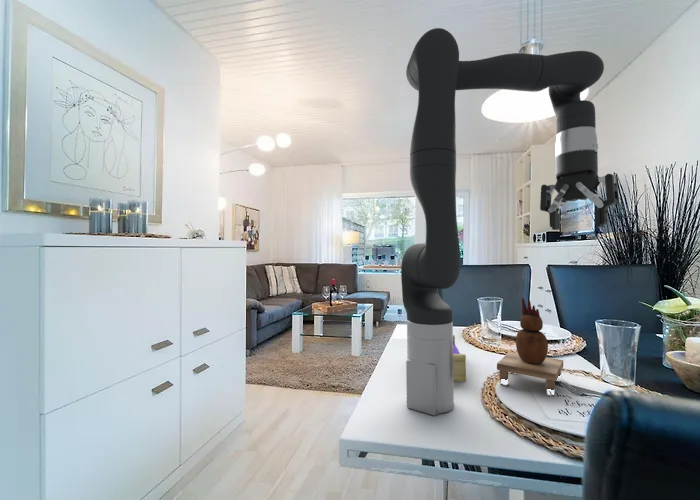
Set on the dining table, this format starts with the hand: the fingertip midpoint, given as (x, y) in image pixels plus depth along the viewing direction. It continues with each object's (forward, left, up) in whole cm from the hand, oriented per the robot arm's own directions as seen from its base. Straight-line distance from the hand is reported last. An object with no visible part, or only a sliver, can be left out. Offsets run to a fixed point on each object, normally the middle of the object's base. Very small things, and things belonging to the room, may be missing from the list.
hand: (577, 228), depth 73 cm
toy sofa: (+1, +31, -37) cm, 48 cm away
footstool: (+3, +10, -36) cm, 38 cm away
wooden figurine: (+3, +10, -31) cm, 33 cm away
